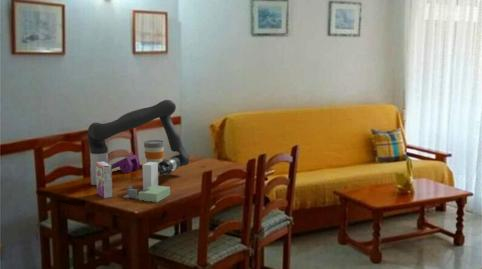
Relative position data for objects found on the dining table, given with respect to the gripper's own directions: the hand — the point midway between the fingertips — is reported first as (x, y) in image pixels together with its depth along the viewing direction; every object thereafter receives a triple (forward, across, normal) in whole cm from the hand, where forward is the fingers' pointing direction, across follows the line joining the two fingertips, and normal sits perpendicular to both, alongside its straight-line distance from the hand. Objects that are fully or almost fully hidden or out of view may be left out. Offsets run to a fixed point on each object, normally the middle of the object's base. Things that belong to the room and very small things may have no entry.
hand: (152, 172), depth 284 cm
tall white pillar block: (+3, 0, +8) cm, 9 cm away
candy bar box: (+21, -16, +9) cm, 28 cm away
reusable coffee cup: (-49, -26, +9) cm, 56 cm away
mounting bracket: (-31, -38, +9) cm, 49 cm away
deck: (+15, +4, +8) cm, 17 cm away
